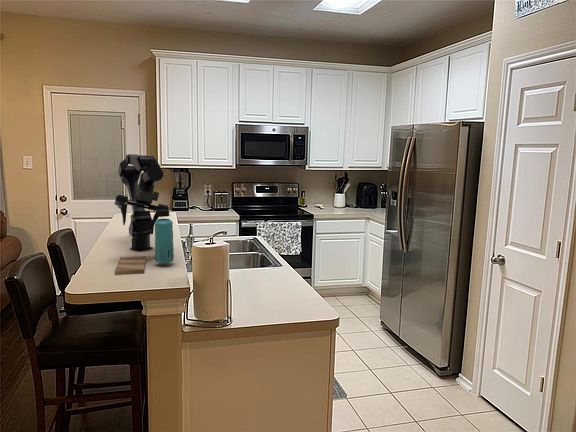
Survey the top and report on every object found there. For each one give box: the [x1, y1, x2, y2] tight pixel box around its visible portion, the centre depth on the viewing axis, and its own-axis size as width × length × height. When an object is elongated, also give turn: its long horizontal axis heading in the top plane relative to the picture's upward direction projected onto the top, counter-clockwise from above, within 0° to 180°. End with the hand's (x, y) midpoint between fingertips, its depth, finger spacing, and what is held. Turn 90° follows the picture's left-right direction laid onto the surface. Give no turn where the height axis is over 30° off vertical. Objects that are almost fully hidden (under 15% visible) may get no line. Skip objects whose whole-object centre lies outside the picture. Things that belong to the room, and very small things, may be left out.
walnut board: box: [114, 255, 147, 276], centre depth 148 cm, size 18×9×1 cm, turn 16°
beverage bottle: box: [154, 209, 175, 264], centre depth 150 cm, size 6×7×20 cm
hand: (137, 227), depth 153 cm, fingers open, 9 cm apart
